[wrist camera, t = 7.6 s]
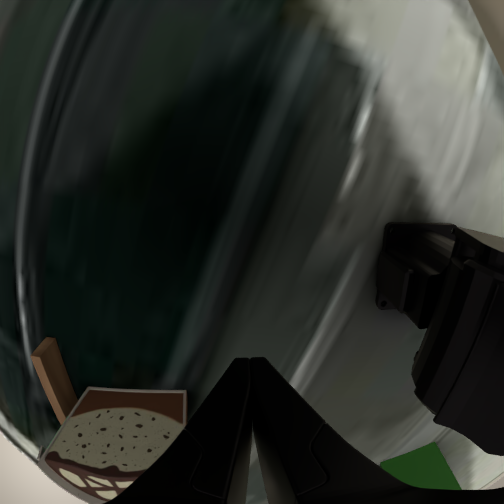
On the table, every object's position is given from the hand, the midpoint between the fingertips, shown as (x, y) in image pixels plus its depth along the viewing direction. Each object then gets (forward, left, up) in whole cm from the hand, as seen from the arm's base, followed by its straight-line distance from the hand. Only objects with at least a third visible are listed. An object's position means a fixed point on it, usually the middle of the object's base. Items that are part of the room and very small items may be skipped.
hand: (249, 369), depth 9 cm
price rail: (+17, +16, -13) cm, 26 cm away
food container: (+9, +16, -13) cm, 23 cm away
